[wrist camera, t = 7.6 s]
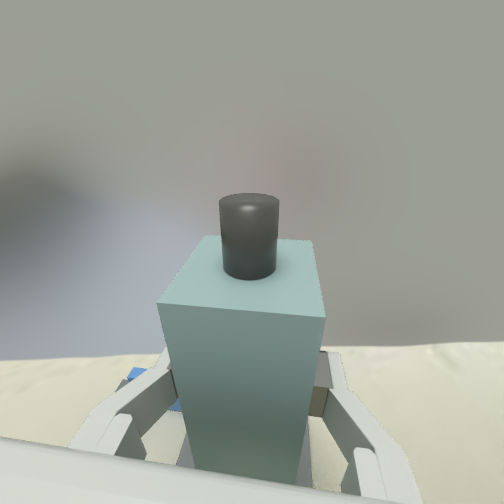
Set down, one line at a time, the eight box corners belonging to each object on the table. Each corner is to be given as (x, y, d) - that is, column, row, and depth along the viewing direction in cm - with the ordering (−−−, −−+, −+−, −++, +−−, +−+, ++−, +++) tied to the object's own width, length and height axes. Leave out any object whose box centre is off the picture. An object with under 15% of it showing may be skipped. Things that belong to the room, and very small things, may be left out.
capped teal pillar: (288, 423, 15) (318, 185, 8) (288, 518, 11) (340, 235, 5) (223, 414, 15) (199, 182, 9) (203, 502, 12) (138, 225, 5)
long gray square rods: (304, 417, 22) (309, 390, 20) (323, 779, 10) (342, 793, 8) (127, 392, 24) (117, 365, 22) (-39, 673, 12) (-92, 664, 10)
